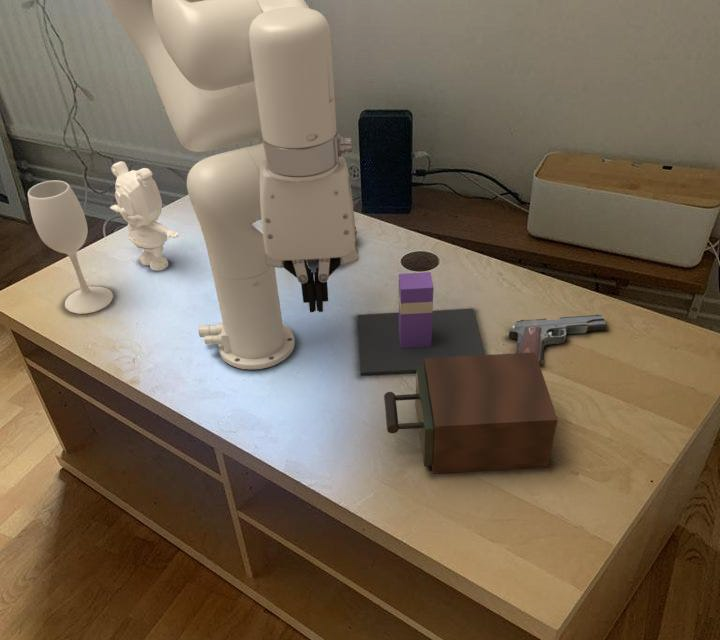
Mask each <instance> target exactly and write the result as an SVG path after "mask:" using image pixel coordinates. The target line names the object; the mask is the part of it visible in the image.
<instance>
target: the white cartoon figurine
mask: <svg viewBox="0 0 720 640" xmlns="http://www.w3.org/2000/svg"><path fill="white" fill-rule="evenodd" d="M110 171H111V173H112V174H113V175H114V177H116V179H115V180H116V181H115V185H114V188H115V192H114V197H115V201H116V204H113V205H111V206H110V207H109V209H111V210H112V211H114V212H117V213H119V214H120V215H121V216H122V219H123V220H124V221H125V222H126V223H127V233H128V240H129V241H130V242H131V243H133V244H134V246H135V248H137V249H138V250H142V251H143V252H141V254H140V258H139V260H140V263H141V265H142V266H149V267H150V269H151V270H153V271H163V270H166V269H167V268H168V266H169V261H168V259H167V258H166V257H165V256H164V255H163V253H164V249H165V248H164V245H165V244H166V242H167V241H168V239H170V238H173V239H176V238H178V237H179V236H180V233H179V232H177V231H175V230H173V229H169V228H167V227H166V226H165V225H164V224H162V223H161V222H158V220H159V218H160V216H161V213H162V210H163V200H162V197H161V193H160V191H159V188H158V185H157V182H156V181H155V180H154V178H153V176H154V175H153V172H152V171H151V170H150V168H147V167H141V168H140V169H138V170H135V169H132V170H130V171H129V167H128V166H127V164H126V162H125V161H121V160H120V161H118V162H115V163H113V164H112V166H110Z"/></svg>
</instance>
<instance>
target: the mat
mask: <svg viewBox="0 0 720 640" xmlns="http://www.w3.org/2000/svg"><path fill="white" fill-rule="evenodd" d="M357 331H358V349H359V366H360V376H375V375H394V374H411V373H412V374H413V373H415V374H416V367H422V366H424V359H425V358H440V357H459V356H477V355H485V351H484V348H483V344H482V340H481V336H480V331H479V328H478V324H477V320H476V315H475V312H474V309H473V308H457V309H438V310H433V314H432V340H431V346H430V347H412V348H401V346H400V338H399V312H384V313H367V314H364V313H363V314H357Z"/></svg>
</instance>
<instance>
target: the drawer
mask: <svg viewBox="0 0 720 640" xmlns="http://www.w3.org/2000/svg"><path fill="white" fill-rule="evenodd" d="M383 398H384V400H383V401H384V411H385V421H386V431H387V433H389V434H396V433H398V432H399V430H415V429H418V433H419V439H420V448H421V455H422V463H423V467H430V466H431V467H432V465H433V445H434V424H433V417H432V411H431V405H430V398H429V392H428V385H427V379H426V372H425V367H424V366H422V367H416V372H415V393H410V394H409V393H407V394H396V393H395V392H393V391H387V392H386V393H384V395H383ZM413 400H414V401H415V410H416V418H417V422H403V423H399V417H398V407H397V401H413Z"/></svg>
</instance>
